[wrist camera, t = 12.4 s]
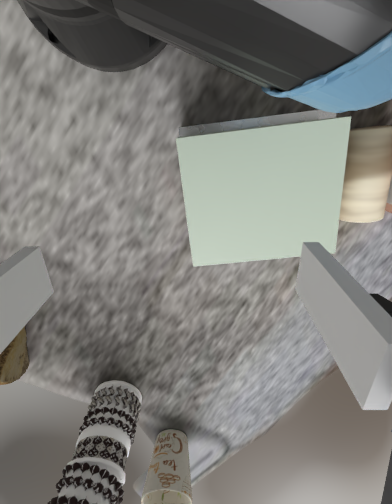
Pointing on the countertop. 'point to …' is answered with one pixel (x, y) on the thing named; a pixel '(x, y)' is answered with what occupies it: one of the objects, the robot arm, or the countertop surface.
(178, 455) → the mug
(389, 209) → the board
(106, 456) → the decorative candle
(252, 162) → the slab
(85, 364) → the countertop surface
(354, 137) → the roller
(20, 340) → the rock
